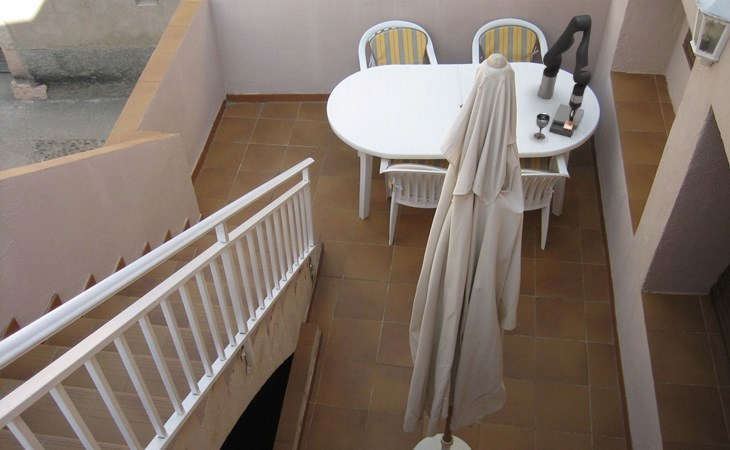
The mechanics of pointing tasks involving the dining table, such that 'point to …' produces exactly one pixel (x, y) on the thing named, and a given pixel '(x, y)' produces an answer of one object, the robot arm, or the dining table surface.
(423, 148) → the dining table surface
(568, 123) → the tile rear
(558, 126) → the tray
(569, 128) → the tile front
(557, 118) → the slate ledge
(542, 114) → the wine glass
